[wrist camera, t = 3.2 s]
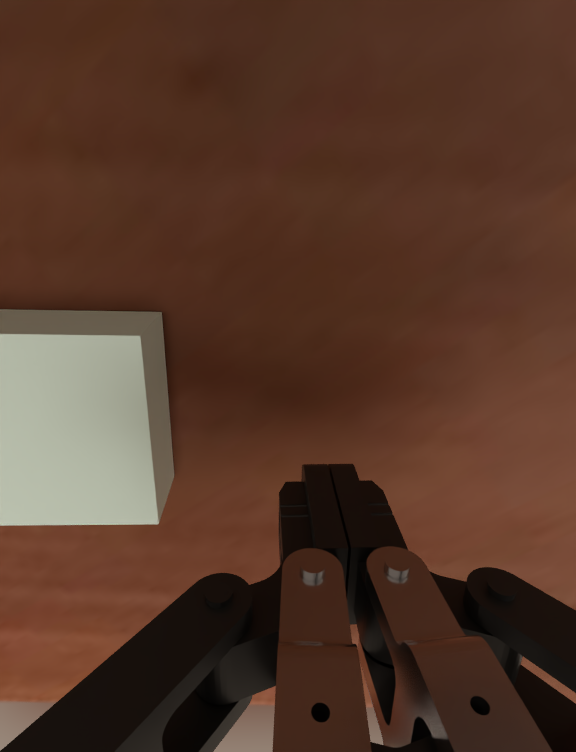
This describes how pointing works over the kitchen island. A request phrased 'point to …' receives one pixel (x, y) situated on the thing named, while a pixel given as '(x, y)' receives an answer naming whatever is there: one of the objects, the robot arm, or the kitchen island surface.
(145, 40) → the kitchen island surface
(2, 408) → the sage green bar
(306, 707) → the robot arm
